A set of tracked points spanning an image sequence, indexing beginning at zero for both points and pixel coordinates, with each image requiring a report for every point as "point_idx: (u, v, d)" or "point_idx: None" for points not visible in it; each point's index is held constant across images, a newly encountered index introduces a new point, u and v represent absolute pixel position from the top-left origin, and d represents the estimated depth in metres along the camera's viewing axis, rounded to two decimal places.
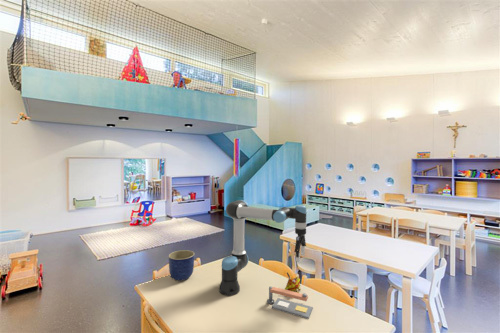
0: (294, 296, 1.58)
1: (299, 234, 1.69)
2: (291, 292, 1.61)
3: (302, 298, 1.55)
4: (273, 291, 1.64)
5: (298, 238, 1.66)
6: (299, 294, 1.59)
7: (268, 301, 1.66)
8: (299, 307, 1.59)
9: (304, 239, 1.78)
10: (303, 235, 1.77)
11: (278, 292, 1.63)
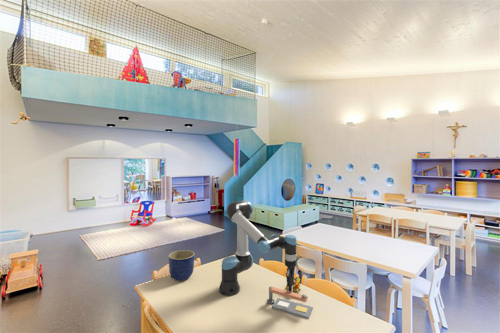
0: (293, 297, 1.57)
1: (289, 267, 1.59)
2: (291, 293, 1.60)
3: (301, 299, 1.54)
4: (273, 291, 1.64)
5: (288, 275, 1.57)
6: (298, 295, 1.58)
7: (268, 301, 1.66)
8: (299, 307, 1.59)
9: (293, 274, 1.66)
10: None
11: (278, 292, 1.62)
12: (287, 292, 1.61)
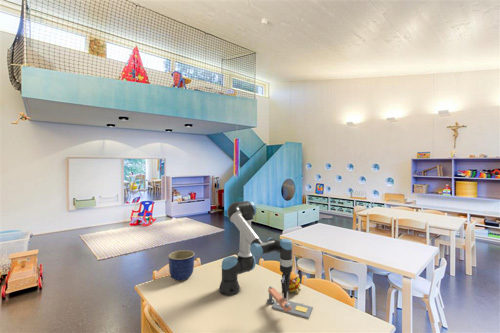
0: (279, 302, 1.50)
1: (284, 273, 1.51)
2: (281, 298, 1.54)
3: (283, 307, 1.46)
4: (269, 291, 1.64)
5: (283, 281, 1.49)
6: (284, 303, 1.49)
7: (268, 301, 1.66)
8: (299, 307, 1.59)
9: (289, 280, 1.57)
10: None
11: (271, 294, 1.61)
12: (278, 296, 1.56)
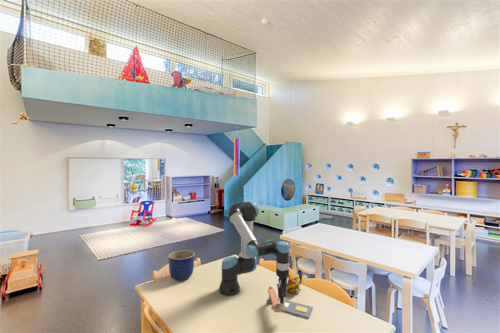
0: (272, 303, 1.50)
1: (280, 277, 1.45)
2: (275, 299, 1.53)
3: (273, 307, 1.45)
4: (268, 291, 1.64)
5: (279, 286, 1.43)
6: (277, 304, 1.48)
7: (268, 301, 1.66)
8: (299, 307, 1.59)
9: (285, 285, 1.51)
10: None
11: (269, 293, 1.61)
12: (274, 297, 1.55)
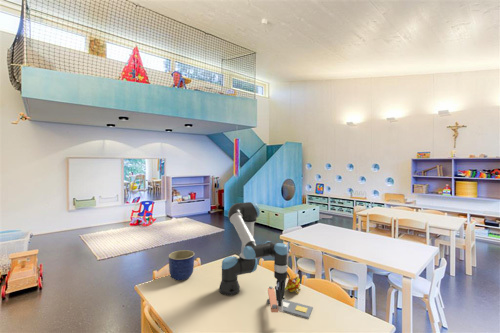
0: (270, 302, 1.50)
1: (278, 279, 1.42)
2: (273, 299, 1.53)
3: None
4: (268, 291, 1.64)
5: (277, 289, 1.40)
6: (274, 304, 1.48)
7: (268, 301, 1.66)
8: (299, 307, 1.59)
9: (284, 287, 1.48)
10: None
11: (268, 293, 1.61)
12: (272, 297, 1.55)
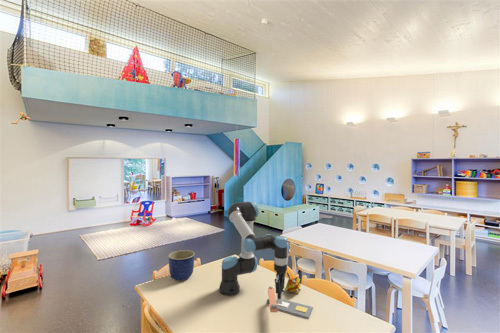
0: (269, 302, 1.50)
1: (278, 272, 1.42)
2: (273, 299, 1.53)
3: (270, 307, 1.45)
4: (268, 291, 1.64)
5: (277, 281, 1.40)
6: (273, 304, 1.48)
7: (268, 301, 1.66)
8: (299, 307, 1.59)
9: (283, 280, 1.48)
10: None
11: (268, 293, 1.61)
12: (272, 297, 1.55)
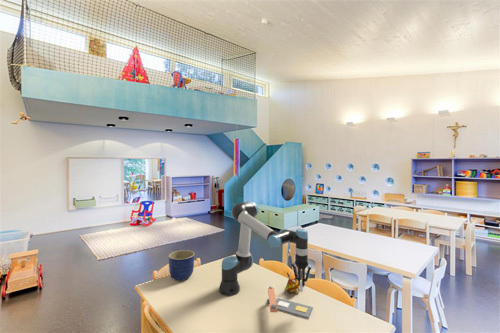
0: (269, 302, 1.50)
1: None
2: (273, 299, 1.53)
3: (270, 307, 1.45)
4: (268, 291, 1.64)
5: None
6: (273, 304, 1.48)
7: (268, 301, 1.66)
8: (299, 307, 1.59)
9: None
10: None
11: (268, 293, 1.61)
12: (272, 297, 1.55)
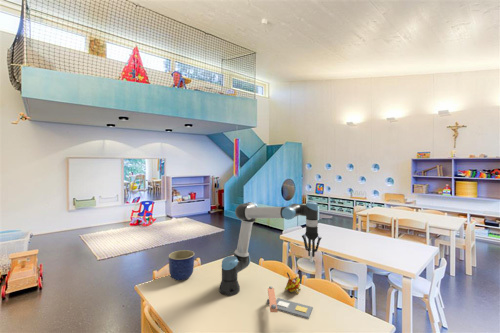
0: (269, 302, 1.50)
1: (306, 230, 1.65)
2: (273, 299, 1.53)
3: (270, 307, 1.45)
4: (268, 291, 1.64)
5: None
6: (273, 304, 1.48)
7: (268, 301, 1.66)
8: (299, 307, 1.59)
9: None
10: (318, 238, 1.61)
11: (268, 293, 1.61)
12: (272, 297, 1.55)
